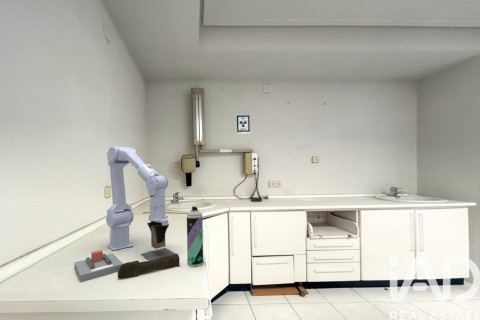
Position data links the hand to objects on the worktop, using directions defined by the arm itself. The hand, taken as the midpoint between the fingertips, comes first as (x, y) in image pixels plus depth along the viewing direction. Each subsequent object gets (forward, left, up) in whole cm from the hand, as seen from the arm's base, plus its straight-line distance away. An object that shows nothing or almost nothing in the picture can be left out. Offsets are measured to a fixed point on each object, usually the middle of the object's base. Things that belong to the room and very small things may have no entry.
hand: (158, 241), depth 91 cm
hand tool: (+13, -8, -6) cm, 16 cm away
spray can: (+18, +6, -6) cm, 20 cm away
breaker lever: (-5, -20, -3) cm, 21 cm away
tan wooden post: (0, 0, -2) cm, 2 cm away
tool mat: (0, 0, -5) cm, 5 cm away
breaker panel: (-2, -20, -5) cm, 21 cm away
